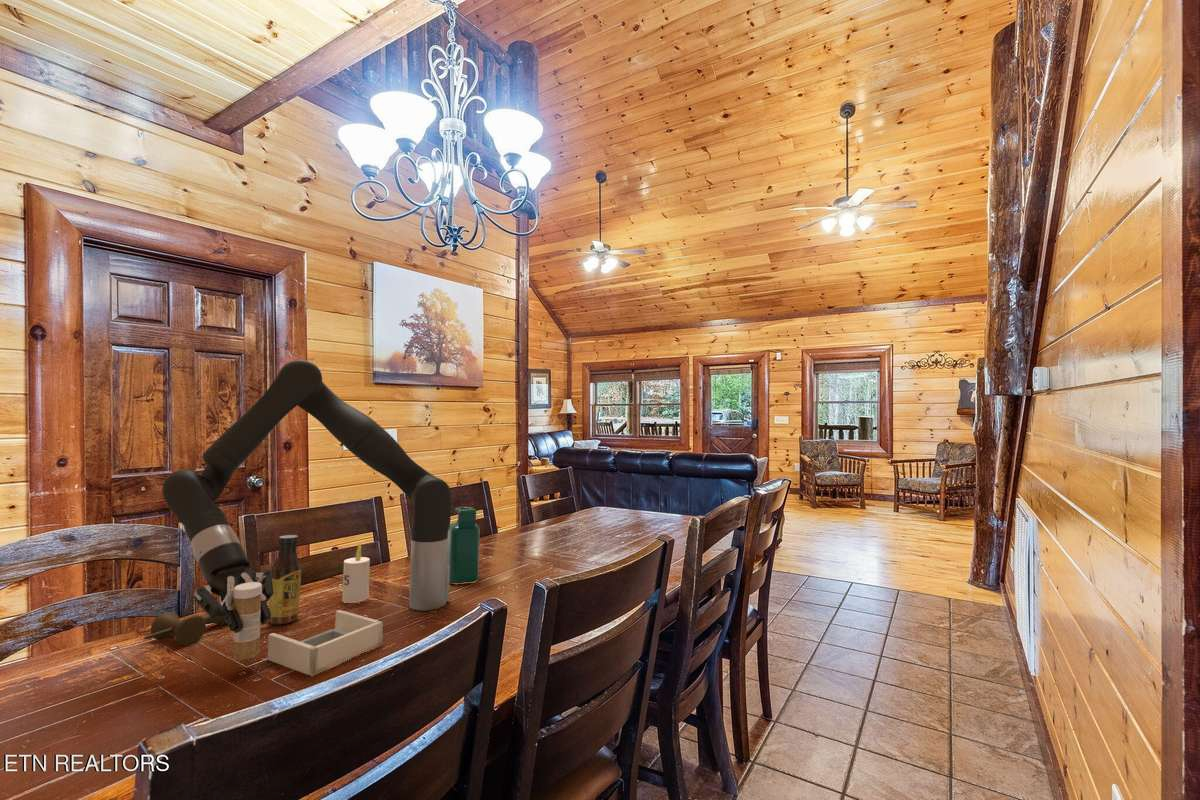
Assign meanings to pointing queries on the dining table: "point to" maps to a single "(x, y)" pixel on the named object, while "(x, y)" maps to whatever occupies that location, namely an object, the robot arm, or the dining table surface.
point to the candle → (356, 578)
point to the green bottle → (463, 547)
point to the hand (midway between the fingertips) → (253, 625)
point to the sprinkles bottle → (247, 620)
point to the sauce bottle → (285, 582)
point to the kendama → (182, 627)
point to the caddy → (327, 644)
